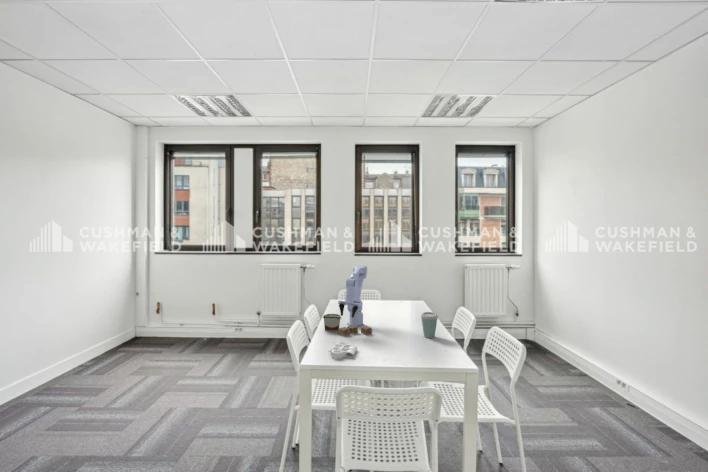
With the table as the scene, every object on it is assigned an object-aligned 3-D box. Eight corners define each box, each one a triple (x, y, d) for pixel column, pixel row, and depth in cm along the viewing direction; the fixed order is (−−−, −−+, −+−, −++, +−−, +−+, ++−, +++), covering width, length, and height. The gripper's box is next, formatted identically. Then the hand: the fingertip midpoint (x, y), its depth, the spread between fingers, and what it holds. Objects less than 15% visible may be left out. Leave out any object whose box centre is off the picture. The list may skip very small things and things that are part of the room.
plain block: (352, 331, 227) (353, 325, 227) (357, 332, 223) (357, 326, 223) (347, 332, 223) (347, 326, 223) (352, 334, 220) (352, 328, 219)
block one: (366, 332, 225) (366, 325, 225) (371, 333, 221) (371, 327, 221) (360, 333, 222) (361, 327, 222) (366, 335, 218) (366, 329, 218)
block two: (344, 332, 222) (345, 326, 222) (349, 334, 218) (349, 328, 218) (338, 334, 219) (339, 328, 219) (343, 336, 215) (343, 330, 215)
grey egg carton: (352, 361, 176) (325, 358, 179) (358, 349, 194) (333, 346, 197) (352, 354, 176) (325, 352, 179) (358, 343, 194) (333, 341, 197)
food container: (342, 328, 231) (342, 314, 231) (340, 331, 225) (341, 316, 225) (324, 327, 232) (324, 313, 232) (322, 330, 226) (322, 315, 226)
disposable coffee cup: (437, 340, 212) (438, 316, 211) (420, 338, 214) (420, 315, 214) (436, 334, 222) (437, 312, 222) (420, 333, 224) (420, 311, 224)
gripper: (341, 293, 221) (338, 314, 216) (361, 297, 225) (359, 317, 221) (338, 294, 227) (335, 315, 223) (358, 298, 232) (355, 318, 227)
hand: (347, 316), depth 222 cm, fingers open, 7 cm apart
